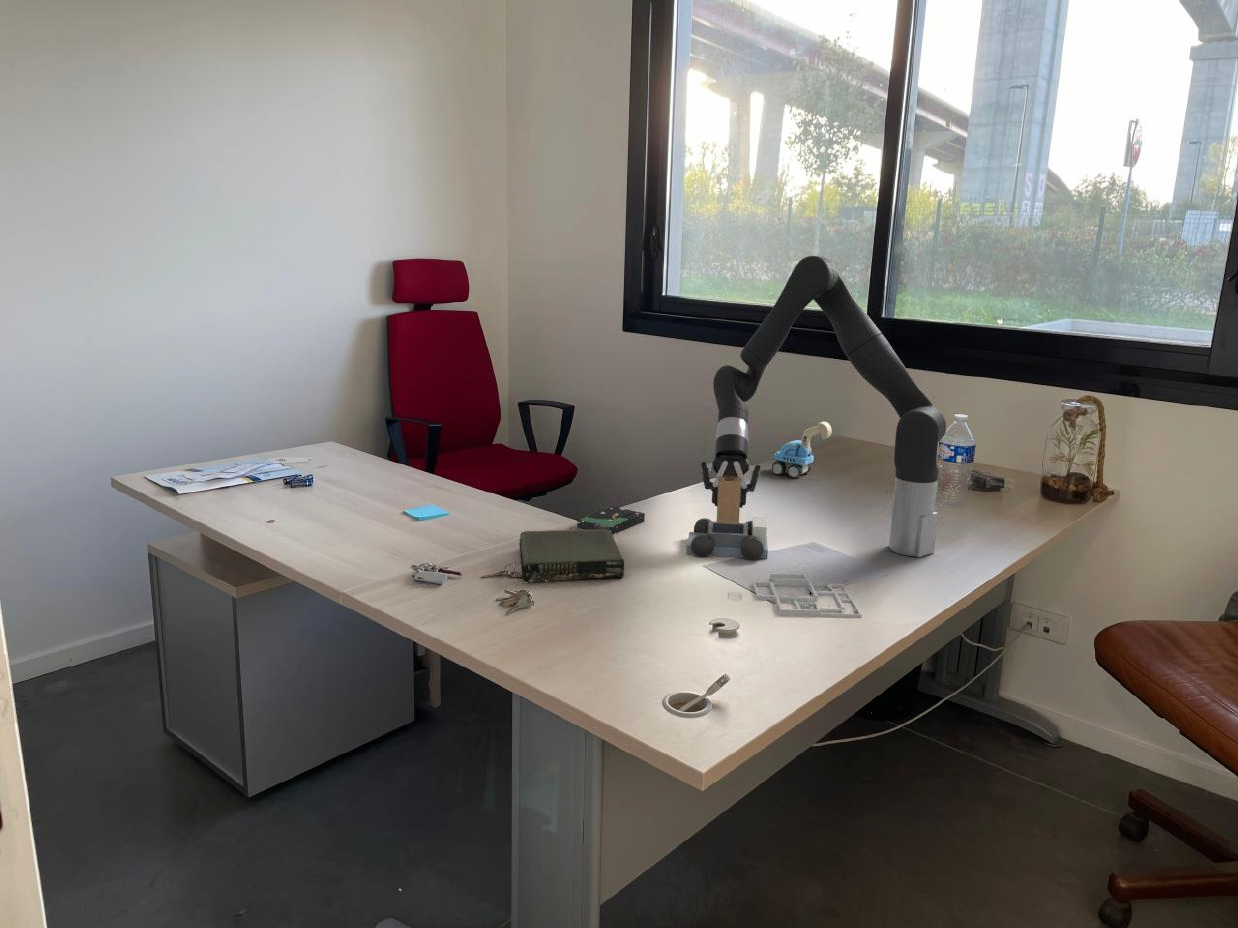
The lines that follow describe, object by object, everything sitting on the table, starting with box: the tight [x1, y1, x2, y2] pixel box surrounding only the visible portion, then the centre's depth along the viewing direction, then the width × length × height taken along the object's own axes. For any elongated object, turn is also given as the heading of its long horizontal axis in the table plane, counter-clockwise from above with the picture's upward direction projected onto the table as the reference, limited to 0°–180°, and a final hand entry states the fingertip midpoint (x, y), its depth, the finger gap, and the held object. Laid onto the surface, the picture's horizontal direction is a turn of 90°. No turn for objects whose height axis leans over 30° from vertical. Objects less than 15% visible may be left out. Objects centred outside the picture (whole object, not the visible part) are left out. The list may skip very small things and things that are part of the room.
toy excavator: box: [771, 421, 833, 479], centre depth 275 cm, size 9×17×17 cm, turn 53°
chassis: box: [686, 515, 769, 561], centre depth 211 cm, size 18×13×7 cm
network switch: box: [518, 529, 625, 583], centre depth 201 cm, size 23×24×5 cm
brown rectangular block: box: [716, 475, 741, 524], centre depth 209 cm, size 5×5×10 cm
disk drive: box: [576, 505, 646, 536], centre depth 228 cm, size 10×3×15 cm
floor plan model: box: [752, 572, 863, 618], centre depth 185 cm, size 19×25×2 cm
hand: (728, 505), depth 207 cm, fingers closed on brown rectangular block, 5 cm apart
